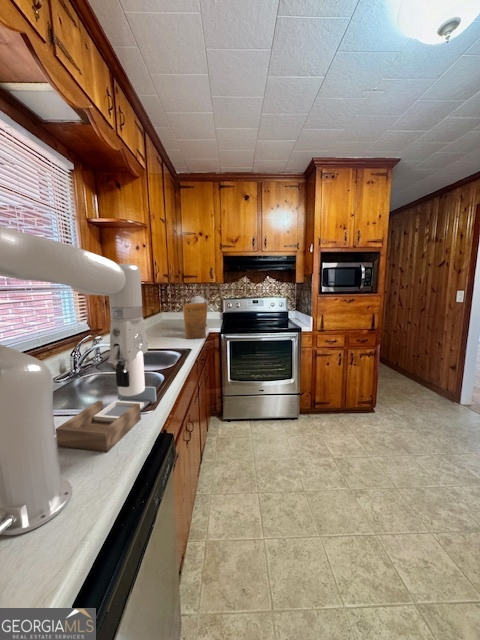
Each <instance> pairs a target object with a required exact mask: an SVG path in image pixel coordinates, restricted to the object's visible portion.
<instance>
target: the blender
mask: <svg viewBox="0 0 480 640" xmlns="http://www.w3.org/2000/svg"><path fill="white" fill-rule="evenodd" d="M195 303H207V311H209V301H208V299H206V298H205V297H201V295H195V296H194V297H191V298H190V304H195ZM206 327H207V323H206Z"/></svg>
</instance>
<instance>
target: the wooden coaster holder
mask: <svg viewBox="0 0 480 640" xmlns="http://www.w3.org/2000/svg"><path fill="white" fill-rule="evenodd" d="M103 409H104V401H103V400H97V401H96V402H94V403H93V404H91V405H89V406H88V407H87V408H85V409H84V410H82V411H80V412H79V413H77V414H76V415H74V416H73V417H71V418H69V420H67V421H66V422H64V423H62V424H60V425H59V426H58V427H55V432H56V440H57V448H61V449H69V450H81V451H89V452H91V451H92V452H98V453H99V452H100V453H109V452H110V451H111V449H113V448H114V447H115V446H116V445H117V444H118V442H120V441H121V439H122V438H124V437H125V436H126V435H127V434H128V433H129V432H130V431H131V429H133V427H135V426H136V425H137V424H138V423H139V422H140V421H141V420H142V417H141V415H142V414H141V411H140V404H139V403H135V404H134V405H133V406H132V407H131V408H129V409H128V410H127V411H126V412H125V413H124V414H122V415H121V416H120V417H119V418H118V419H116V420H115V421H114V422H113V423H106V422H94V416H95V415H96V414H97V413H99V412H100V411H102V410H103Z"/></svg>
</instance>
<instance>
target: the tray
mask: <svg viewBox="0 0 480 640" xmlns="http://www.w3.org/2000/svg"><path fill="white" fill-rule="evenodd" d="M156 388H157V387H156V386H146V385H145V390H144V391H143V393H141V394H139V395H136V396H131V397H125V396H121V395H120V394H119V389H118V386H117V385H116V391H117V400H114V401H112V402H111V403H110V404H108V405H107V406H106V407H103V410H102V411H100V412H99V413H97V414H96V415H95V416H94V422H106V423H113V422H114V421H115V420H116V419H118V418H119V417H120V416H121V415H122V414H124V413H125V412H126V411H127V410H128V409H129V408H131V407H132V406H133V405H134V404H135V403H139V404H140V412H141V411H143V409H144V408H146V407H147V406H148V405H149V404H150V403H156V402H157V389H156Z"/></svg>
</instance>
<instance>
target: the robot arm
mask: <svg viewBox="0 0 480 640" xmlns="http://www.w3.org/2000/svg"><path fill="white" fill-rule="evenodd" d="M0 276H1V277H4V278H9V279H10V278H11V279H16V280H22V281H34V282H44V283H45V282H46V283H53V284H59V285H62V286H63V285H65V286H69V287H70V288H71V289H72V290H74V291H75V292H77V293H80V294H82V295H88V296H108V301H109V313H110V330H109V348H110V349H109V350H110V352H109V353H110V356H109V357H108V359H107V363H108V365H110V367H111V368H112V369H113V371H114V373H115V380H116V387H117V386H118V387H129V386H130V383H129V371H127V367H128V361H131V360H133V359H135V358H136V356H137V354H138V352H139V351H142V352H143V362H145V354H146V353H147V351H148V349H149V348H148V346H149V345H148V337H147V330H146V323H145V320H144V317H143V316H144V313H143V302H142V301H143V296H142V281H141V280H142V278H141V268H140V267H139V266H138V265H136V264H131V263H130V264H129V263H117V262H116V261H113V260H112V259H110V258H107V257H104V256H102V255H99V254H96V253H94V252H90V251H88V250H86V249H83V248H80V247H77V246H73V245H71V244H70V245H69V244H66V243H61V242H59V241H58V242H57V241H54V240H50V239H47V238H43V237H40V236H37V235H32V234H29V233H24V232H22V231H18V230H15V229H13V228H10V227H7V226H5V225H1V224H0ZM139 348H140V349H139ZM119 356H122V358H123V359H119ZM120 362H123V366H122V365H121V364H120ZM53 396H54V377H53V375H52V372H51V370H50V368H49V367H48V366H47V364H46V363H44V362H43V361H41V360H40V359H38V358H36V357H34V356H32V355H29V354H26V353H24V352H22V351H19V350H16V349H14V348H11V347H8V346H6V345H4V344H0V535H2V536H14V535H15V536H16V535H20V534H25V533H27V532H29V531H33V530H34V529H37V528H38V527H41V526H42V525H44V524H47V522H49V521H51V520H52V519H53V518H55V517H56V516H58V514H60V512H62V510H63V509H64V508H65V507H66V506H67V504H68V503H69V501H70V500H71V497H72V495H73V489H72V484H71V483H70V482H69V481H68V480H67V479H63V478H62V475H61V474H62V473H61V467H60V466H61V465H60V459H59V457H60V456H59V449H58V448H59V447H58V444H57V436H56V425H55V417H54V406H53V405H54V403H53V401H54V397H53Z"/></svg>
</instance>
